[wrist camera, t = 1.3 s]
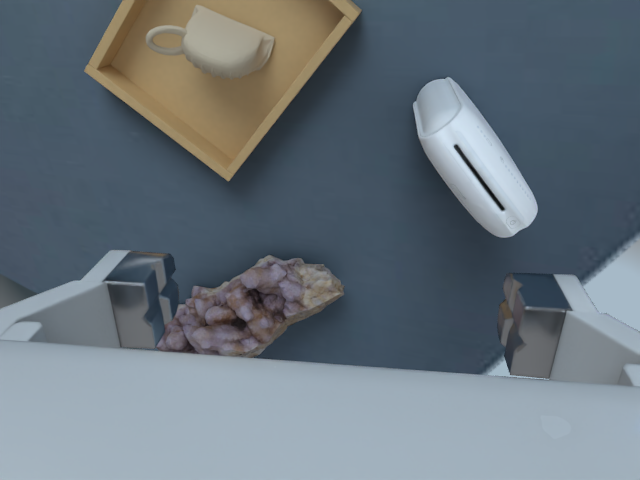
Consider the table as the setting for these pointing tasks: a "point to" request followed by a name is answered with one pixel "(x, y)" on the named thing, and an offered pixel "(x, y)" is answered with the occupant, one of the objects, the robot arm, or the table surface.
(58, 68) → the table surface
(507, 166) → the photo printer
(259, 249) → the table surface
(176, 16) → the tray
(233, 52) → the decorative ornament
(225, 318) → the mineral specimen
